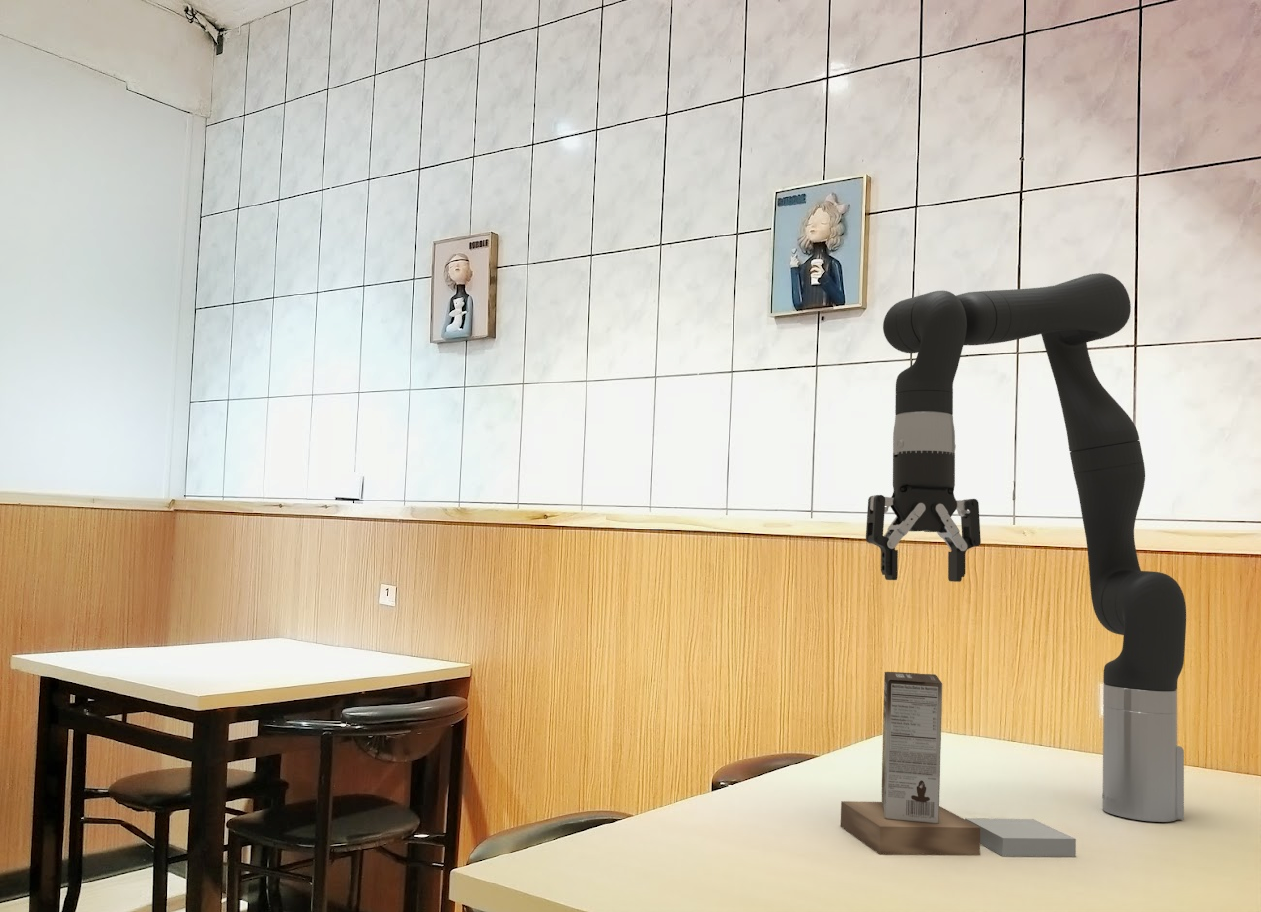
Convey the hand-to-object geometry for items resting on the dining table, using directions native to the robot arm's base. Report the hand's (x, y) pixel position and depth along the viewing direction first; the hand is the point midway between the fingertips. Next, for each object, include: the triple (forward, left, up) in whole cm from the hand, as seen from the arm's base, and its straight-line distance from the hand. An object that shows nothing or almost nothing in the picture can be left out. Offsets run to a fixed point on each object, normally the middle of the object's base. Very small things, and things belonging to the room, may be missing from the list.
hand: (923, 580), depth 131 cm
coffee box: (+2, +3, -28) cm, 28 cm away
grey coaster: (-10, +6, -30) cm, 33 cm away
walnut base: (+3, +4, -30) cm, 31 cm away
